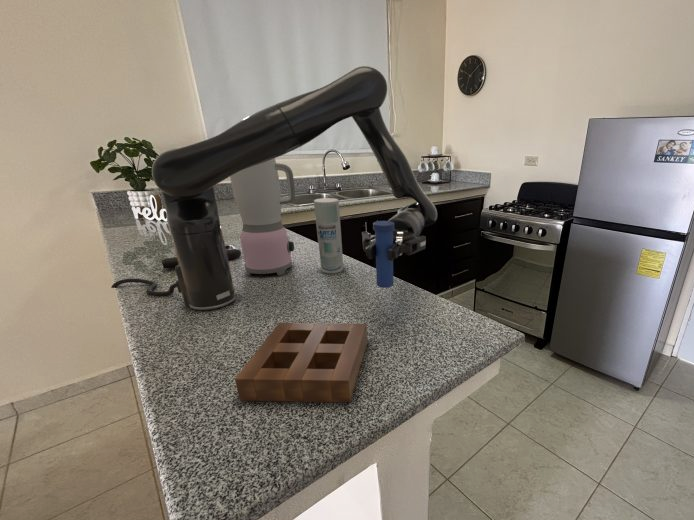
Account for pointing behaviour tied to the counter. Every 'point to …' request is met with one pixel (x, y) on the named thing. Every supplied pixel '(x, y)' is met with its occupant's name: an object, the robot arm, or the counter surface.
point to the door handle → (230, 249)
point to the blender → (263, 217)
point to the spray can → (329, 234)
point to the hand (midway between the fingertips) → (379, 254)
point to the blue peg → (383, 252)
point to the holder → (305, 364)
